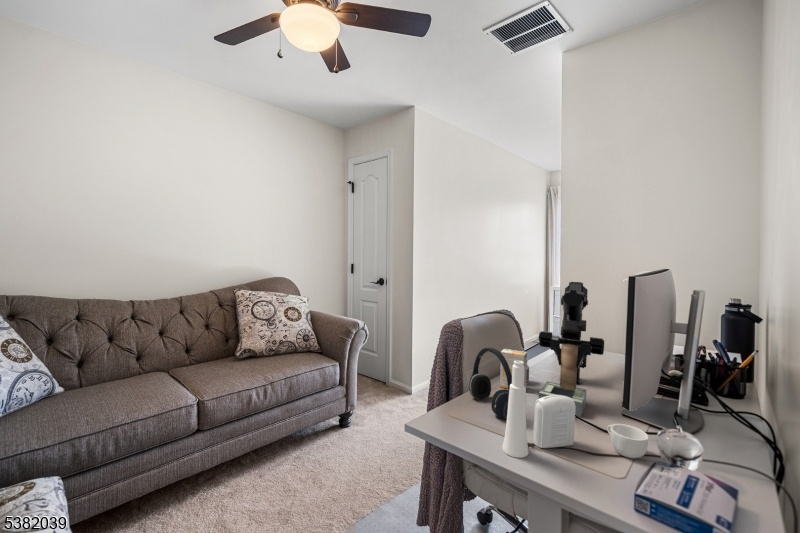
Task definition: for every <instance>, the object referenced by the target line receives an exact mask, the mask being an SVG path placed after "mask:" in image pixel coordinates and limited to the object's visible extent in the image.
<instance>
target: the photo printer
mask: <svg viewBox="0 0 800 533" xmlns="http://www.w3.org/2000/svg"><path fill="white" fill-rule="evenodd" d="M575 411H576V406H575V402H574V400H573V399H571V398H570V397H567V396H563V395H550V396H545V397H542V398H540V399H539V398H538V399H536V401H535V402H534V412H533V413H534V414H533V415H534V416H533V431H532V432H533V433H532V439H533V444H534V445H535V446H536V447H537V448H541V449H550V448H561V447H569V446H573V445H574V442H575V425H576V416H575Z"/></svg>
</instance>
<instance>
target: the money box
mask: <svg viewBox="0 0 800 533" xmlns="http://www.w3.org/2000/svg"><path fill="white" fill-rule="evenodd" d="M550 395H563V396H567V397H570V398H571V399H573V400H574V402H575V406H576V411H575V415H576V416H577V418H581V419H582V416H583V413H584V410H585V406H586V405H587V389H585V388H579V387H576V389H575V390H566V389H563V388H561V387H560V383H558V382H557V383H556V382H552V381H546V382H545V384H544V385H543V387H541V389H540V390H539V392H538V399H540V398H542V397H545V396H550ZM576 416H575V417H576Z"/></svg>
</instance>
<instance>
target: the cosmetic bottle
mask: <svg viewBox="0 0 800 533" xmlns="http://www.w3.org/2000/svg"><path fill="white" fill-rule="evenodd" d="M523 364H524V362H522V361H518V360H516V361H514V365H513V367H512V384H510V390H509V400H508V412H507V418H506V426H505V433H504V439H503V442H502V446H501V448H502V451H503V453H505V454H506V455H508V456H510V457H513V458H517V459H522V458H525V457H528V455H529V447H528V439H527V438H528V437H527V436H528V435H527V434H528V433H527V396H526V395H527V392H526V390H527V386H526V387H525V386H524V371H525V367H524V366H523Z"/></svg>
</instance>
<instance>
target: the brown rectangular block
mask: <svg viewBox="0 0 800 533" xmlns="http://www.w3.org/2000/svg"><path fill="white" fill-rule="evenodd" d="M560 348H561V365H560V371H559V372H560V373H559V374H560V375H559V384H560V387H561V388H563V389H566V390H575V389H576V388H577V384H576V379H577V358H578V347H577V346H575V345H570V344H563V345H562V344H561V346H560Z"/></svg>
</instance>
